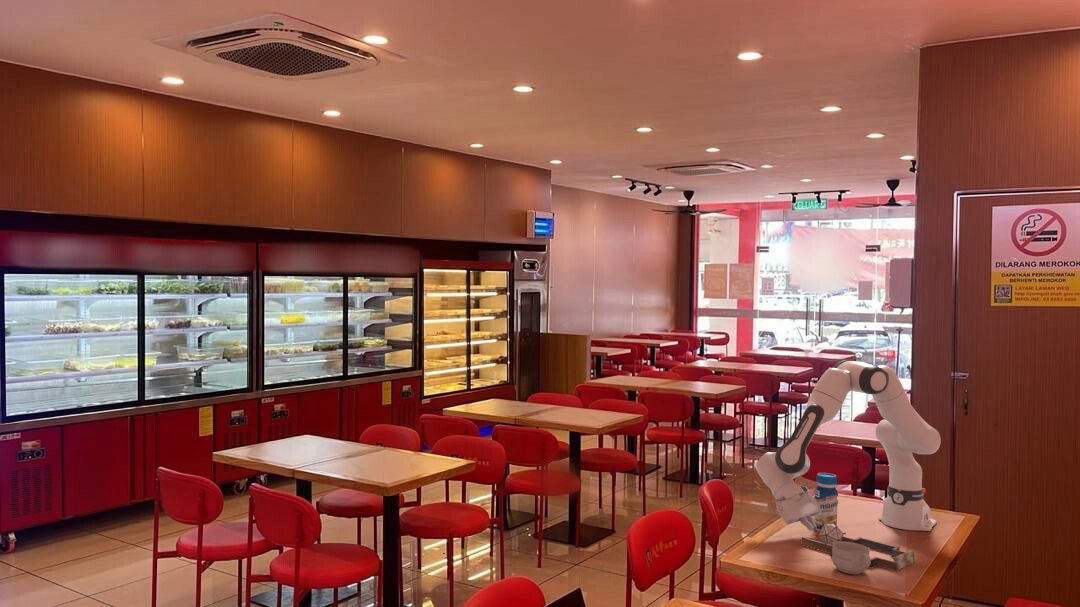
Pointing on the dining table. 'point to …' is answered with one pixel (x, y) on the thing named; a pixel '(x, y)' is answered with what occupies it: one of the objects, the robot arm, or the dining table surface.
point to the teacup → (850, 557)
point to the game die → (830, 533)
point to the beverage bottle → (826, 500)
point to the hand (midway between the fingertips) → (813, 529)
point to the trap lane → (900, 557)
